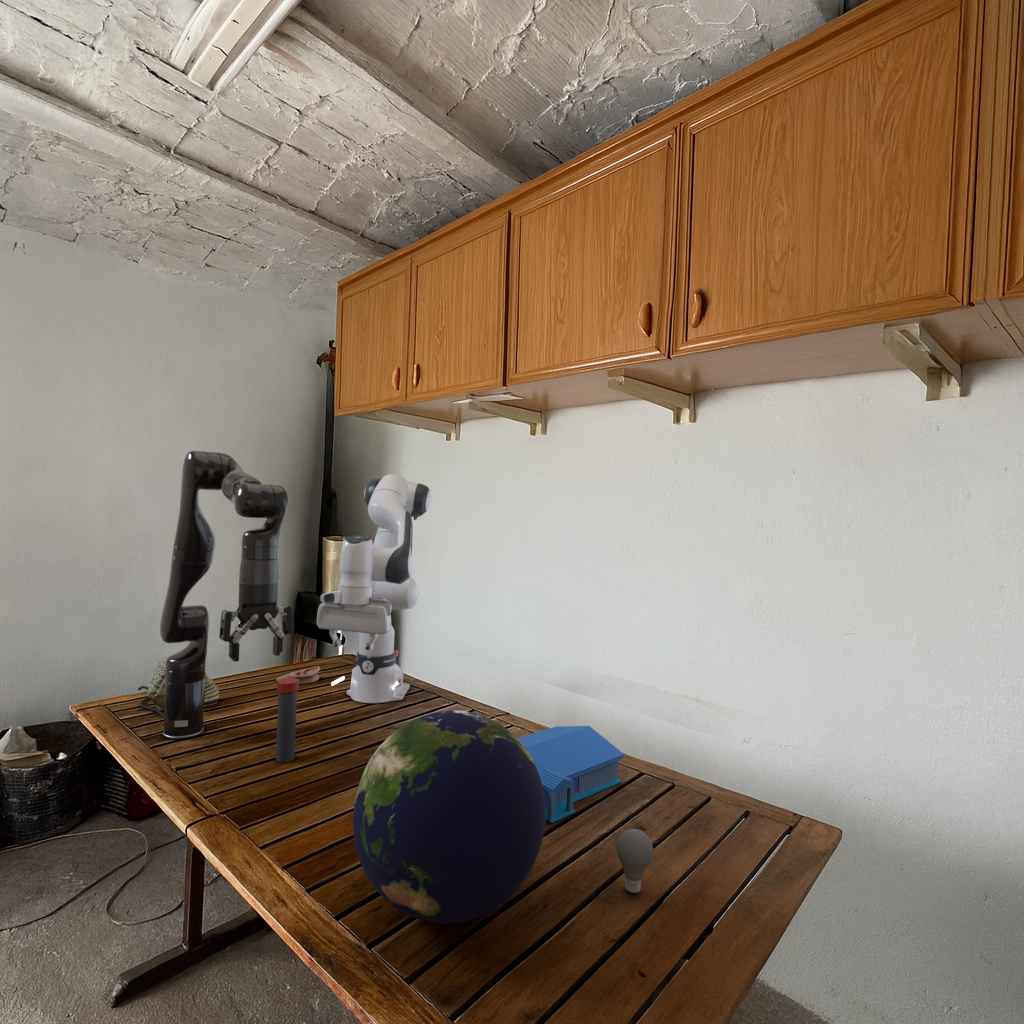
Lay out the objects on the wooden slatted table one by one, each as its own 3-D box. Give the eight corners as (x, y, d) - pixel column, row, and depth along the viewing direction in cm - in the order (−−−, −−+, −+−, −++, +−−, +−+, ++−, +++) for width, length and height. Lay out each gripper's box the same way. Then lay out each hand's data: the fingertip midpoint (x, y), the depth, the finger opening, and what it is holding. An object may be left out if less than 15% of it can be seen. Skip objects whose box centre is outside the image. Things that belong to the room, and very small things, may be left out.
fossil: (144, 707, 182) (145, 655, 182) (212, 696, 194) (213, 647, 194) (151, 716, 175) (153, 662, 175) (221, 703, 188) (223, 653, 188)
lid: (302, 688, 154) (302, 678, 154) (292, 694, 149) (292, 684, 149) (283, 686, 154) (283, 677, 154) (272, 692, 149) (273, 682, 149)
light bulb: (610, 879, 108) (613, 822, 108) (644, 879, 109) (647, 822, 109) (619, 902, 102) (622, 840, 102) (655, 901, 103) (658, 840, 103)
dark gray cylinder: (297, 756, 154) (300, 680, 153) (289, 763, 149) (292, 685, 149) (281, 754, 154) (284, 679, 154) (272, 761, 150) (275, 684, 150)
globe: (306, 934, 92) (314, 729, 91) (413, 836, 119) (420, 678, 119) (495, 1005, 80) (505, 771, 80) (565, 878, 108) (573, 704, 108)
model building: (505, 843, 118) (507, 790, 118) (429, 794, 136) (431, 748, 136) (632, 786, 145) (634, 743, 144) (555, 752, 163) (557, 713, 163)
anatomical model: (271, 670, 211) (289, 662, 222) (270, 682, 211) (289, 673, 222) (307, 674, 208) (324, 665, 220) (306, 686, 208) (324, 677, 220)
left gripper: (284, 576, 139) (281, 649, 139) (216, 579, 129) (213, 658, 130) (299, 580, 134) (296, 656, 134) (230, 584, 124) (227, 667, 124)
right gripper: (396, 597, 170) (394, 649, 170) (326, 592, 174) (324, 642, 174) (386, 600, 164) (384, 654, 164) (314, 595, 168) (312, 647, 168)
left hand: (256, 657), depth 132 cm, fingers open, 8 cm apart
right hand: (353, 648), depth 169 cm, fingers open, 8 cm apart
